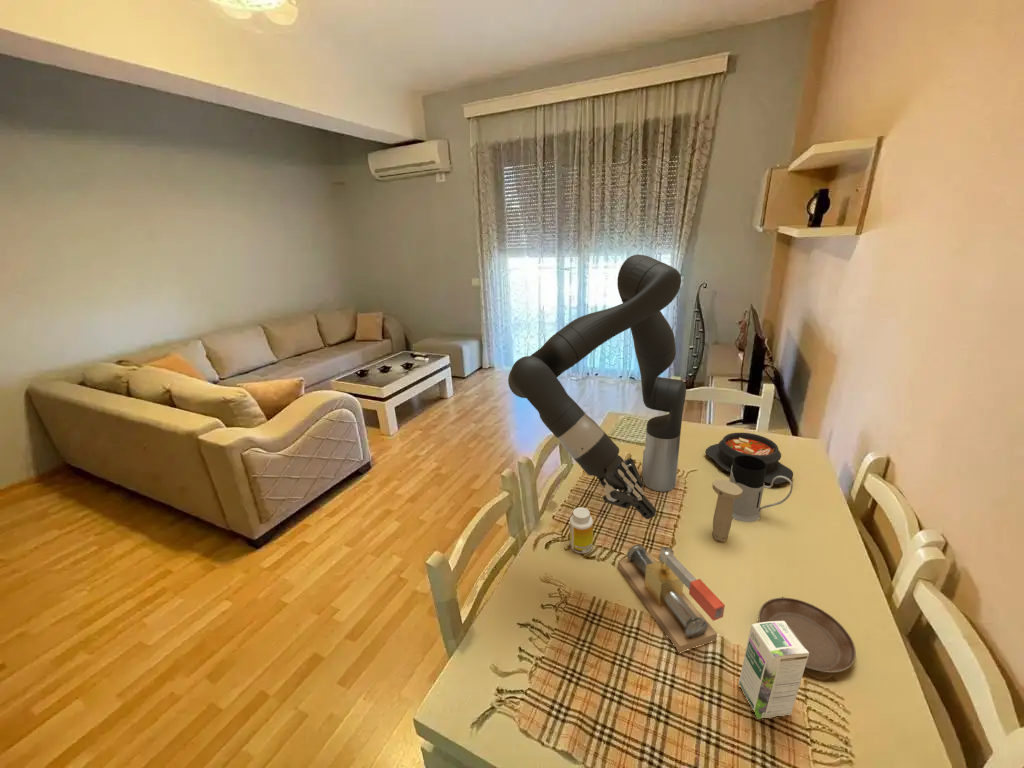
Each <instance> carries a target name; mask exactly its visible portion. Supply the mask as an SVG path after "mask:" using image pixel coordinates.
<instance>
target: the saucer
mask: <svg viewBox="0 0 1024 768" xmlns="http://www.w3.org/2000/svg"><path fill="white" fill-rule="evenodd" d="M758 621H759V623H761V622H770V621H785V622H786V624H787V625H788V626H789V627H790V629H791V630H792V631H793V633H794V634H795V635H796V636H797V638H798V639H799V641H800V642H801V643H802V645H803V646H804V648H805V649H806V650H807V651H808V652H809V656H808V659H807V663H806V666H805V669H809V670H812V671H814V672H820V673H829V674H830V673H838V672H843V671H846V670H848V669H849V668H850V667H851V666H853V664H854V662H855V660H856V656H857V655H856V654H857V651H856V645H855V644H854V641H853V639H852V637H851V636H850V634H849V633H848V632H847V630H846V629H845V627H843V625H842V624H841V623H839V621H838V620H836V619H835V618H834V617H833V616H832V615H830V614H829V613H827V612H826V611H824V610H823V609H821V608H820V607H818V606H815V605H813V604H811V603H809V602H806V601H803V600H800V599H797V598H791V597H777V598H771V599H769V600H767V601H765V602H764V603H763V604H762V606H761V607H760V610H759V612H758Z"/></svg>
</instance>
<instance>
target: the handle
mask: <svg viewBox="0 0 1024 768" xmlns="http://www.w3.org/2000/svg"><path fill="white" fill-rule="evenodd" d="M711 488H712V489H713V491H714V492H715V493H716V494H717V500H716V505H715V507H714V508H715V509H714V513H713V518H712V536H713V538H714V540H715V541H716V542H717V541H718V542H721V543H724V542H725V541H727V540H728V538H729V534H730V530H731V527H732V521H733V518H732V511H733V500H734V499H738V498H740V497H741V496H742V492H743V490H742V489H741V488H740V487H739V486H738V485H736V484H734V483H732V482H730V481H729V480H727V479H723V478H722V479H721V478H720V479H719V478H718V479H715V480H713V481H712V486H711Z"/></svg>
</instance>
